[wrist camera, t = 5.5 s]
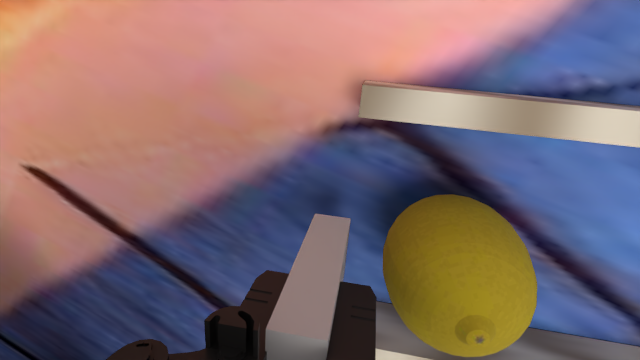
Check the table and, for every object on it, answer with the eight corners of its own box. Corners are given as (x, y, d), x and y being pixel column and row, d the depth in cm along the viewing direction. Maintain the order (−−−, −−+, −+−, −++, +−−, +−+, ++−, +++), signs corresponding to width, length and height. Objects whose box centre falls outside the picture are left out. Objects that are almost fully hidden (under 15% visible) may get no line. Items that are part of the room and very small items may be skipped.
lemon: (465, 281, 18) (526, 430, 11) (367, 249, 19) (361, 373, 11) (512, 191, 16) (626, 298, 9) (402, 157, 17) (423, 233, 9)
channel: (337, 311, 20) (329, 358, 17) (365, 80, 16) (362, 84, 12) (820, 397, 17) (924, 476, 14) (1028, 142, 13) (1254, 170, 9)
